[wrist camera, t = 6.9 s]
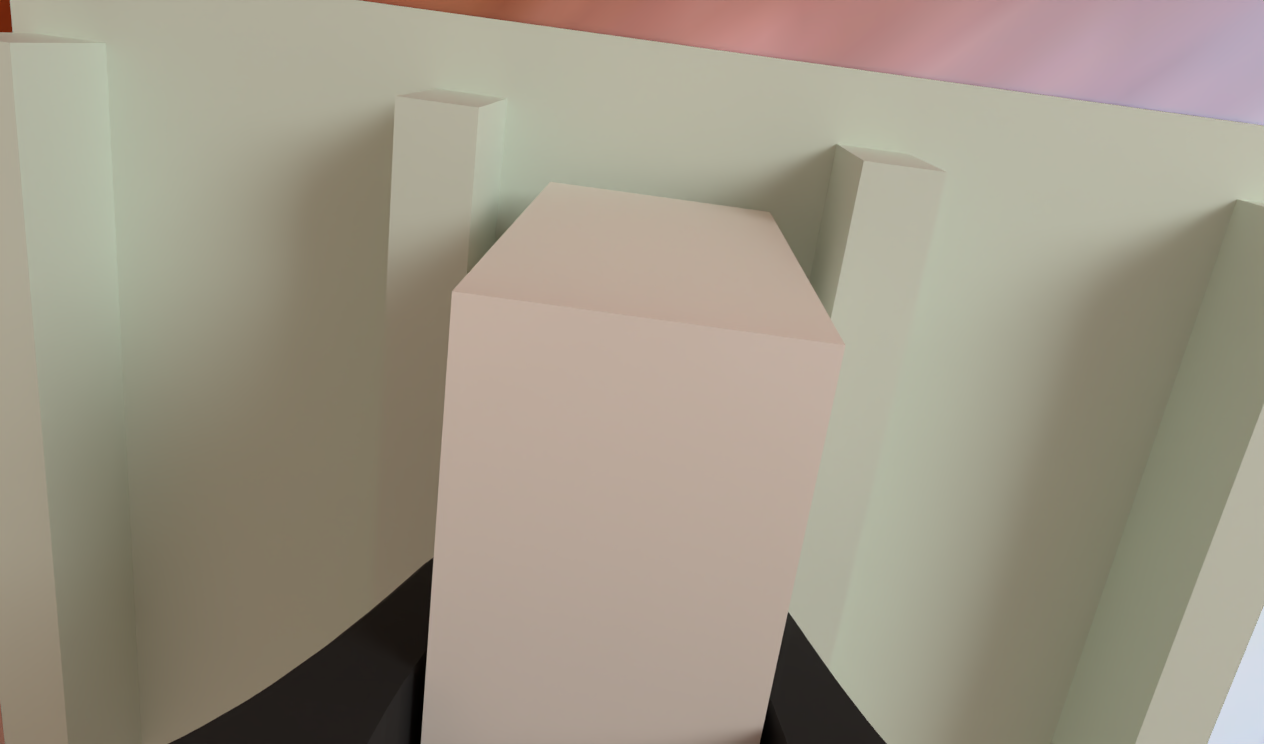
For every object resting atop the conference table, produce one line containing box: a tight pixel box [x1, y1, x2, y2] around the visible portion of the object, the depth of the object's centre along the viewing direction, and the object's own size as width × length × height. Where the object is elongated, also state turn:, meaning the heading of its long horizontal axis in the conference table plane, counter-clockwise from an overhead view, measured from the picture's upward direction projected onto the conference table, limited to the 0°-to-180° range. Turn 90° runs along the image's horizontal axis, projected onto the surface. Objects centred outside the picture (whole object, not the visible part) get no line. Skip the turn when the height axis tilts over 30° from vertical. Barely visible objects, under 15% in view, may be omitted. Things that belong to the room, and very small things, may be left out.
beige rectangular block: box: [421, 182, 845, 744], centre depth 12 cm, size 10×3×6 cm, turn 173°
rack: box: [0, 0, 1264, 744], centre depth 15 cm, size 14×18×3 cm
